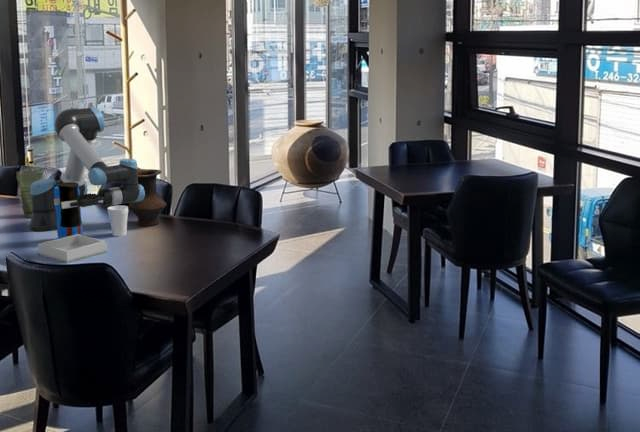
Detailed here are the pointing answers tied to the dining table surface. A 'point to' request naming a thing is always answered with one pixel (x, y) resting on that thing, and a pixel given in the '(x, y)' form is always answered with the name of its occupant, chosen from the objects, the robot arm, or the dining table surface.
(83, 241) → the white bin
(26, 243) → the dining table surface
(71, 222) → the container
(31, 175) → the green ribbed vase
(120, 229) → the foam cup
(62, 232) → the thermos
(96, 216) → the dining table surface
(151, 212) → the jug
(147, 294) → the dining table surface
